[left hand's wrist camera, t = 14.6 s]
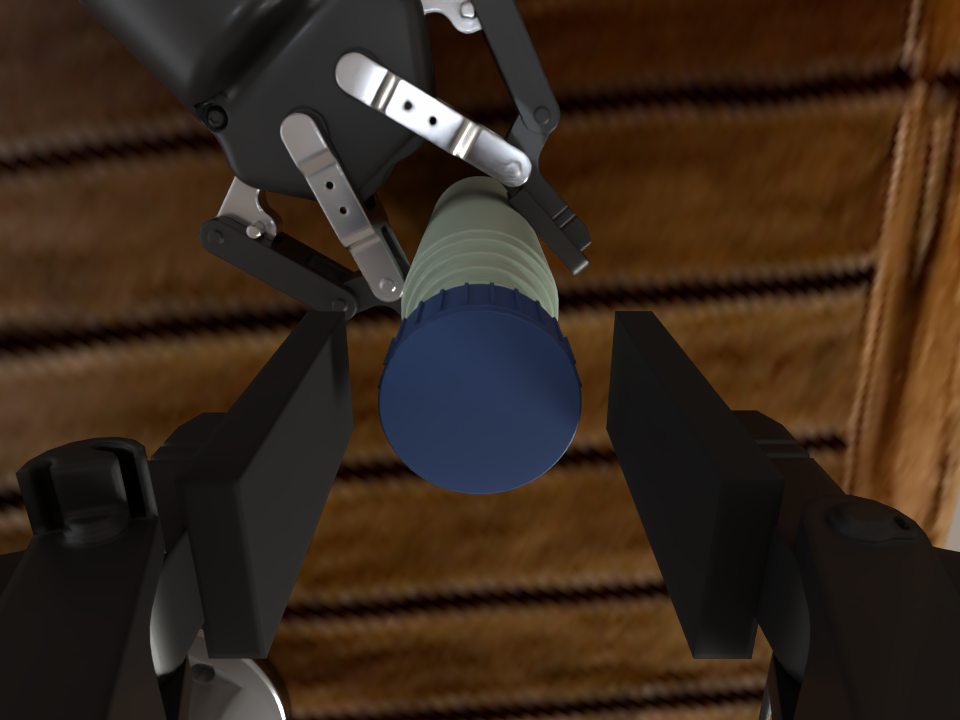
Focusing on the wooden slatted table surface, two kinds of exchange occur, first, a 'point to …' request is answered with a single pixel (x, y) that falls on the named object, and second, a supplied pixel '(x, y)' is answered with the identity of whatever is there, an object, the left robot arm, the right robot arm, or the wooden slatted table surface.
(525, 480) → the cap
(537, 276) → the bottle
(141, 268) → the wooden slatted table surface
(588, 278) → the wooden slatted table surface
